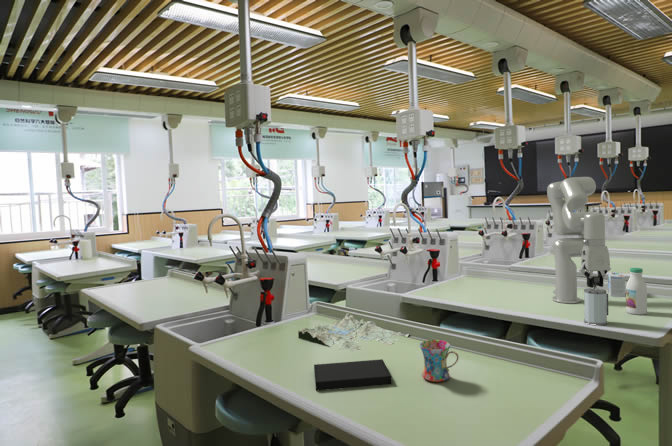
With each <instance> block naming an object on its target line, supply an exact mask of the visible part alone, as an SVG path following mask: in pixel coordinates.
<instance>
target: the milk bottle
mask: <svg viewBox="0 0 672 446" xmlns="http://www.w3.org/2000/svg"><path fill="white" fill-rule="evenodd" d="M643 271H644V270H643V268H641V267H630V269H629V273H630V276H629V279H628V281H627V283H626V284H625V311H626V312H627V313H628V314H629V315H630V314H631V315H637V316H642V315H647V313H648V288H647V283H646V281H645V280H644V278H643Z"/></svg>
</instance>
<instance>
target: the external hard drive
mask: <svg viewBox="0 0 672 446" xmlns="http://www.w3.org/2000/svg"><path fill="white" fill-rule="evenodd" d="M313 370H314V371H313V373H314V382H315V391H317V390H319V391H327V390H326V389H331V390H340V388H343V389H352V388H365V387H374V386H375V387H376V386H377V387H378V386H388V385H389V386H390V385H393V383H392V375H391V373H390V371H389V369H388V367H387V365H386V362H385V361H384V360H383V359H371V360H369V359H367V360H358V361H356V360H355V361H343V362H332V363H331V362H330V363H316V364H313ZM317 392H318V391H317Z"/></svg>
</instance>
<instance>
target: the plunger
mask: <svg viewBox="0 0 672 446" xmlns="http://www.w3.org/2000/svg"><path fill="white" fill-rule="evenodd" d="M592 278H593V279H594V287H593V288H594V291H597V287H598V286H597V284H599V283H600V277H599V276H598V275H593V276H592Z"/></svg>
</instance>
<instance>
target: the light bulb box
mask: <svg viewBox="0 0 672 446" xmlns="http://www.w3.org/2000/svg"><path fill="white" fill-rule="evenodd" d="M607 294H608V296H610V297H613V298H615V297H617V298H618V297H619V298H626V275H625V274H624V273H623V272H609V271H608V272H607Z"/></svg>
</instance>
